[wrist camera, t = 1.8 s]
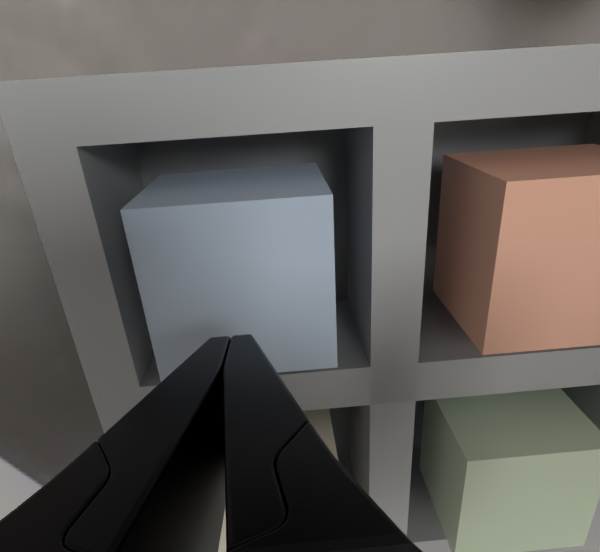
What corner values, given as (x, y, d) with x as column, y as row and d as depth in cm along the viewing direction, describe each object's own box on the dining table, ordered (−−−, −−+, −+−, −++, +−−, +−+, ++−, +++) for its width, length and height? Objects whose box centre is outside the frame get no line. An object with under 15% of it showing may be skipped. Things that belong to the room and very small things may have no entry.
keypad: (635, 45, 16) (799, 30, 11) (541, 451, 24) (610, 546, 19) (80, 80, 15) (-11, 81, 10) (179, 485, 24) (155, 592, 19)
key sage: (543, 370, 18) (616, 447, 14) (525, 457, 20) (583, 545, 17) (426, 380, 18) (467, 461, 14) (419, 467, 20) (453, 558, 16)
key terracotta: (592, 143, 14) (708, 167, 11) (563, 279, 16) (651, 340, 13) (443, 154, 14) (506, 181, 10) (433, 290, 16) (482, 355, 13)
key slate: (316, 163, 14) (332, 194, 10) (321, 299, 16) (337, 367, 12) (161, 174, 14) (120, 210, 10) (187, 310, 16) (160, 382, 12)
